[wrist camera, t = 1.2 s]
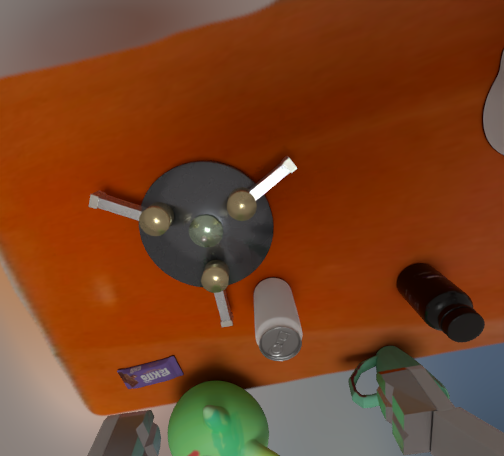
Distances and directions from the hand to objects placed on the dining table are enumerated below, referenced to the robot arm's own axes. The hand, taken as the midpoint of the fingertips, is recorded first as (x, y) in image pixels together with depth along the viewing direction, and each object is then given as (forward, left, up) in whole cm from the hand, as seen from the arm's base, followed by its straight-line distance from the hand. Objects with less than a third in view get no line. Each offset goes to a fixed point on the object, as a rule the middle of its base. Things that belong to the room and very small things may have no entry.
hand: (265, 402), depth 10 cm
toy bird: (+31, +28, -34) cm, 54 cm away
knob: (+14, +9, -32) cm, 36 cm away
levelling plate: (+9, 0, -34) cm, 35 cm away
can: (+9, +16, -34) cm, 39 cm away
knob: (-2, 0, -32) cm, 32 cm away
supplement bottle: (-11, +30, -34) cm, 47 cm away
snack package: (+37, +15, -35) cm, 53 cm away
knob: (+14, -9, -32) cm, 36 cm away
